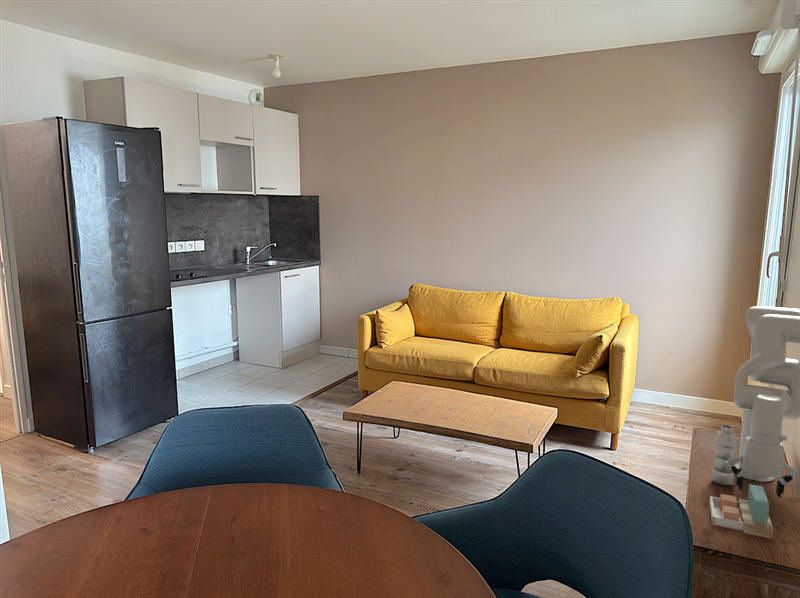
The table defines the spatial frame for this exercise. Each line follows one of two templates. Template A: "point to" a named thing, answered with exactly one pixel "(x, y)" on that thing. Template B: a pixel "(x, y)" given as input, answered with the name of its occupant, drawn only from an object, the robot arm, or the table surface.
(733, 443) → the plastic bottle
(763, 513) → the bar
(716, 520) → the tray
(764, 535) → the beige gold flat block
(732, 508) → the peach cube
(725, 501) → the tan cube
